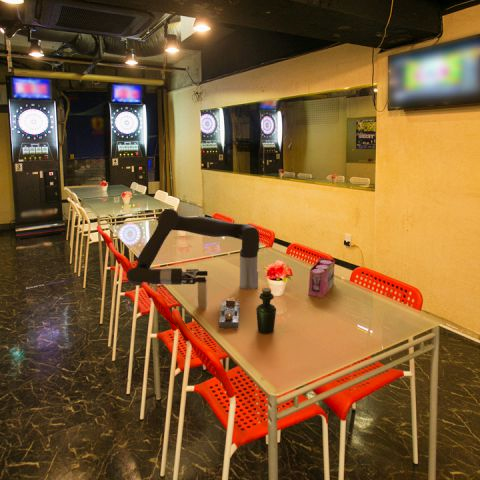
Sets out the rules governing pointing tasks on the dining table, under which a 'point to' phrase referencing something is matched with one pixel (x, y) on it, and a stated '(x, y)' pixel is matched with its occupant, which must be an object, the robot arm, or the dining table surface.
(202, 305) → the wood grain block
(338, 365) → the dining table surface
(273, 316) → the potion bottle
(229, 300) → the hand plane
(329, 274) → the gum box
